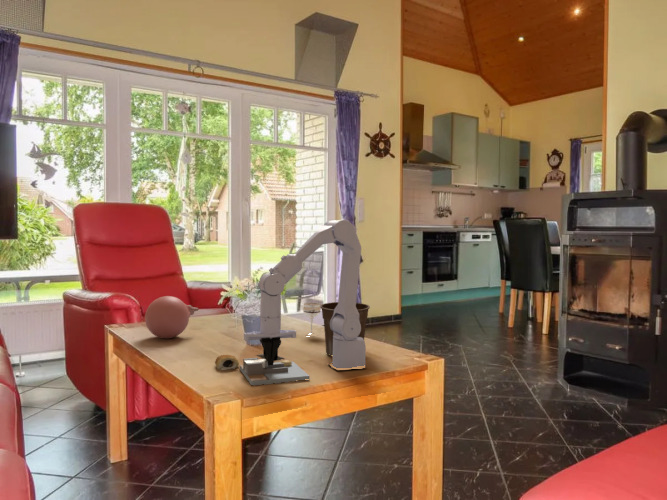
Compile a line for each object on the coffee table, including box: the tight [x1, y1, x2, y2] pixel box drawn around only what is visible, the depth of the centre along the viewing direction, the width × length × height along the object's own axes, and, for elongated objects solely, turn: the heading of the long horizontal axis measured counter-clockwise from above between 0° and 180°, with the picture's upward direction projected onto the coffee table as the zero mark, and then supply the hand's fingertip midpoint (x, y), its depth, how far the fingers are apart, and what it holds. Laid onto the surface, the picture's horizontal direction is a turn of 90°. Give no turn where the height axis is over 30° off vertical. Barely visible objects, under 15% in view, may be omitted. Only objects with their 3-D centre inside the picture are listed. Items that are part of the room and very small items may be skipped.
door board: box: [239, 357, 310, 386], centre depth 148 cm, size 16×16×4 cm
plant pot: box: [320, 301, 371, 355], centre depth 173 cm, size 16×16×16 cm
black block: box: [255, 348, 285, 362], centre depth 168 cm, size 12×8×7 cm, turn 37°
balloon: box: [144, 295, 199, 339], centre depth 194 cm, size 15×20×15 cm
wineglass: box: [302, 302, 322, 335], centre depth 202 cm, size 7×7×12 cm
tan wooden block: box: [244, 358, 268, 373], centre depth 146 cm, size 6×3×3 cm, turn 111°
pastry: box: [214, 354, 240, 371], centre depth 157 cm, size 9×7×4 cm
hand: (270, 364), depth 148 cm, fingers closed
